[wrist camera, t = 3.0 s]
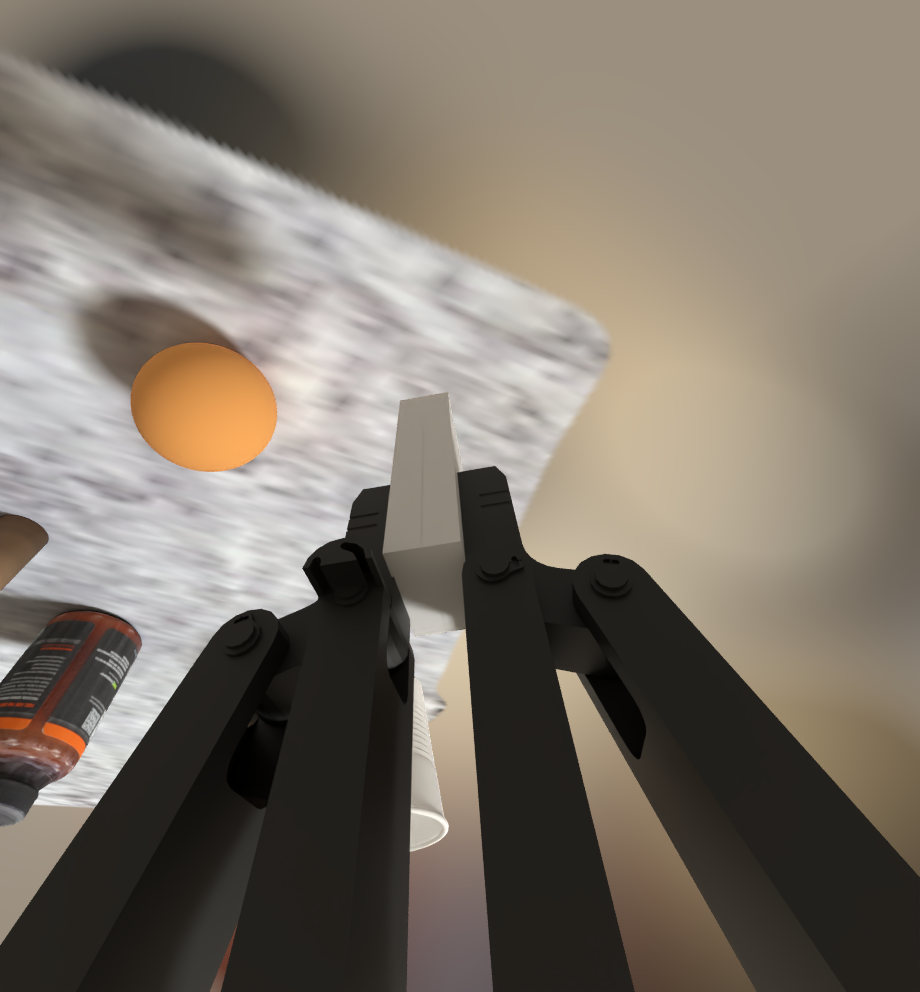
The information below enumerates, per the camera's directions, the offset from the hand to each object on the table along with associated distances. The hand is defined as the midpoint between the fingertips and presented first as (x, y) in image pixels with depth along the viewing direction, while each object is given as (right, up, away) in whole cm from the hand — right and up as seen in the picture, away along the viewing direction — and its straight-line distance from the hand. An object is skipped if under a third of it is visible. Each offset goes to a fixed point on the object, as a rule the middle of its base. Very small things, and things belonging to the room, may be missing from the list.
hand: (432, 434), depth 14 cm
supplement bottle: (-25, -12, +18) cm, 33 cm away
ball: (-10, +2, +5) cm, 12 cm away
